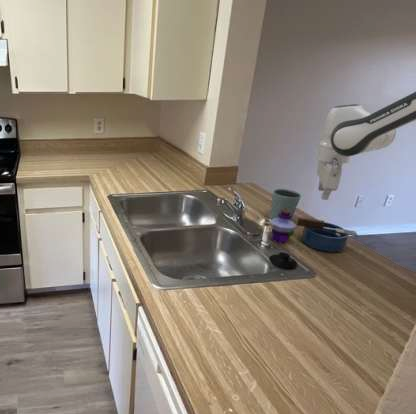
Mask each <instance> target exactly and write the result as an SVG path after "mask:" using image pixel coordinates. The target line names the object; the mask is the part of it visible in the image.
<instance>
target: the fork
mask: <svg viewBox="0 0 416 414" xmlns="http://www.w3.org/2000/svg"><path fill="white" fill-rule="evenodd" d="M325 222H326V221H325V220H321V219H316V218H315V219H314V218H308V217H303V216H298V218H297V221H296V226H297V227H303V228H304V227H310V228H316V229H321V230H323V229H324V230H330V231H336V233H342V234H347V235H349V236H353V237H358V236H359V235H358V233H357V231H356V230H351V229H350V230H349V229H345V228H343V229H337V228H335V229H333V228H327V227H324V224H325Z"/></svg>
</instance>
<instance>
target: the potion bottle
mask: <svg viewBox="0 0 416 414" xmlns="http://www.w3.org/2000/svg"><path fill="white" fill-rule="evenodd" d="M290 212H291V211H290V210H287V209H282V210H281V212H279V213H278V217H279V218H274V219H272V220H271V222H272V224H273V229H272V232H271V231H270V238H271V237H272V239H273V240H275V241H277V242H276V243H278V242H281V243H280V244H286V243H288V240H289V239H290V238H291V237H292V236H293V235H294V233H295V230H296V228H297V224H295V222H294V221H293V220H292V221H289V219H291V218H292V214H291V213H290ZM292 219H293V218H292ZM272 239H271V240H272ZM273 240H272V241H273ZM275 241H274V242H275Z"/></svg>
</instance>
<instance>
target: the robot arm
mask: <svg viewBox="0 0 416 414" xmlns="http://www.w3.org/2000/svg"><path fill="white" fill-rule="evenodd" d="M415 121H416V90H415V91H413V92H412V93H410V94H408V95H406V96H404V97H402V98H400V99H398V100H396V101H395V102H392V103H390V104H388V105H387V106H384V107H383V108H381V109H379V110H377V111H374V112H373V113H371V112H369V111H367V110H366V109H365V108H364V107H363V106H362V105H361V104H358V103H357V104H356V103H353V104H343V105H336V106H334V107H332V108H331V109H330V111H329V113H328V115H327V117H326V119H325V123H324V127H323V130H322V140H320V143H319V146H318V150H317V155H316V157H315V158H316V160H317V161H318V162H317V168H316V169H317V170H316V173H317V174H316V175H317V176H318V179H319V180H318V181H319V182H318V187H317V189H318V191H319V192H322V193H321V199H322V201H323V200H324V201H328V200H329V198H330V195H331V193H332V192H335V191H337V190H338V189H339V185H340V181H341V177H342V172H343V168H342V167H343V164H347V163H349V161H350V157H353V156H356V155H358V154H365V153H369V152H374V151H378V150H381V149H384V148H387V147H388V146H390V145H391V144H392V142H394V140H395V137H396V134H397V133H396V130H397V129H399V128H401V127H403V126H406V125H408V124H411V123H413V122H415Z"/></svg>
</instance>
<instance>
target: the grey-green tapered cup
mask: <svg viewBox="0 0 416 414" xmlns="http://www.w3.org/2000/svg"><path fill="white" fill-rule="evenodd" d="M301 197H302V194H301V193H300V192H298V191H295V190H291V189H287V188H275V189H273V190H272V196H271V203H270V210H269V214H268V219H269V218H270V219H271V220H272V219H274V218H279V217H278V213H279V212H281V210H282V209H287V210H290V211H291V212H290V213H291V214H292V218H291V219H289V221H292V222H293V218H294V214H295V212H296V210H297V207H298V204H299V202H300V200H301ZM270 219H269V220H270Z"/></svg>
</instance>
